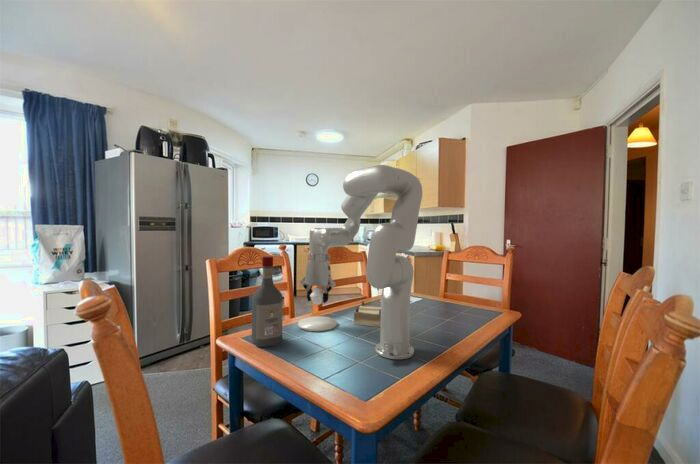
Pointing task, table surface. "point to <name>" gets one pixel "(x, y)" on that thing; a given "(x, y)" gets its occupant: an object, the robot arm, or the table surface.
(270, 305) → the liquor
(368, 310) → the pegged square board
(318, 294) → the white rounded piece
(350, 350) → the table surface
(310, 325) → the white plate
